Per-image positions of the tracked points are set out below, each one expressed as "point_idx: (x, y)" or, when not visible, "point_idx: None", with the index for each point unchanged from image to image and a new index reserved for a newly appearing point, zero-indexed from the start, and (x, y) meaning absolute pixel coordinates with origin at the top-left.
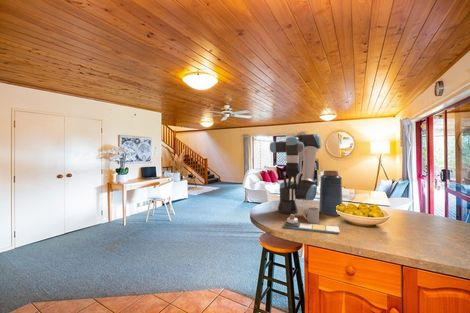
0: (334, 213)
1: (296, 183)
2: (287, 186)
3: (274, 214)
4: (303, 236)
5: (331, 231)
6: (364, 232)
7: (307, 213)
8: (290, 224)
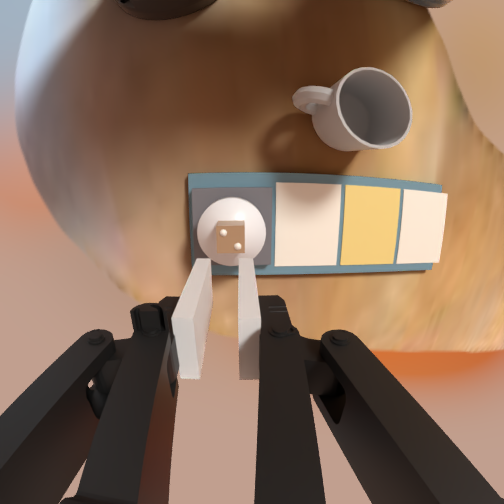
0: (431, 5)
1: (308, 409)
2: (118, 364)
3: (102, 55)
4: None
5: (413, 265)
6: (499, 213)
7: (326, 116)
8: None
